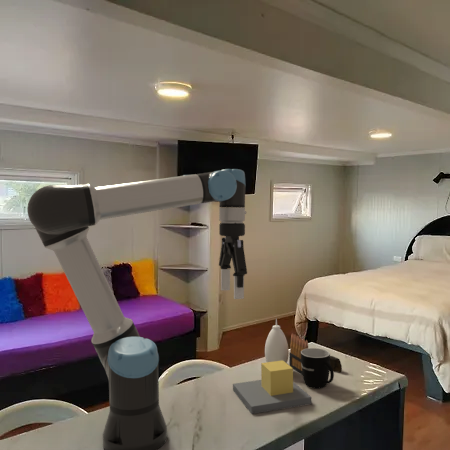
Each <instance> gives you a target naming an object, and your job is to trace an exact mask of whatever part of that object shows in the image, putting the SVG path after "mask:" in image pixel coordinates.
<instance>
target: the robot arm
mask: <svg viewBox="0 0 450 450" xmlns="http://www.w3.org/2000/svg"><path fill="white" fill-rule="evenodd" d="M246 186H247V185H246V174H245V171H244V170H242V169H238V168H225V169H221V170H220V169H219V170H214V171H209V172H203V173H197V174H196V173H195V174H183V175H180V176H171V177H165V178H157V179H149V180H143V181H134V182H126V183H118V184H112V185H111V184H110V185H104V186H96V187H94V186H93V185H91V184H90V183H84V184H72V185H65V184H64V185H63V184H62V185H60V184H50V185H45V186H43V187H41V188H39V189H38V190H36V191H35V192H33V193H32V195H31V196H30V198H29V200H28V203H27V208H26V209H27V215H28V219H29V221H30V223H31V224H32V226H33V227H34V229H35V230H36V232H37V234H38V237H39V238H40V239H39V240H41V242H42V245H43V247H44V248H45V249H48V250H50V251H53V252H54V254H55V257H56V259H57V260H58V262H59V264H60V266H61V268H62V269H61V270H63V273H64V275H65V276H66V279H67V281H68V283H69V284H70V286H71V289H72V291H73V293H74V296H75V297H76V299H77V301H78V303H79V305H80V307H81V309H82V312H83V313H84V315H85V317H86V320H87V321H88V324H89V326H90V327H91V329H92V332H93V333H92V334H93V335H92V337H91V344H92V346H93V347H94V349H95V352H96V354H97V356H98V358H99V361H100V363H101V364H102V366H103V368H104V371H105V374H106V376H107V379H108V390H109V391H108V395H109V396H108V397H109V398H108V399H109V400H108V401H109V412H108V415H107V418H106V422H105V425H104V429H103V433H102V446H103V449H104V450H158V449H159V448H161V447H163V445H164V444H165V443H166V441H167V439H168V427H167V424H166V420H165V418H164V415H163V412H162V410H161V407H160V391H159V390H160V389H159V388H160V387H159V385H160V384H159V382H160V381H159V377H160V376H159V361H160V356H159V352H158V347H157V344H156V343H155V342H154V341H153V340H152V339H149V338H144V337H142V336H140V334H139V332H138V331H139V330H138V329H137V327H136V326H135V323H134V321H133V319H131V318H128V317H125V316H124V313H123V312H122V310H121V307H120V305H119V302H118V301H117V299H116V296H115V295H114V292H113V291H112V290H113V289H111V286H110V284H109V282H108V280H107V277H106V276H105V273H104V271H103V269H102V267H101V264H100V263H99V260H98V259H97V256H96V254H95V252H94V249H93V247H92V246H91V244H90V241H89V239H88V237H87V235H88V233H89V230H90V227H92V226H96V225H98V223H99V222H100V221H101V220H108V219H112V218H121V217H124V216H125V217H126V216H133V215H136V214H137V215H138V214H145V213H151V212H157V211H162V210H168V209H175V208H180V207H181V208H182V207H187V206H194V205H198V204H199V205H200V204H206V203H208V204H209V203H219V207H218V209H219V213H218V214H219V215H218V216H219V219H218V220H219V221H220V224H219V226H218V227H219V229H218V230H219V236H221V247H220V255H219V259H218V260H219V261H218V266H219V267H220V291H231V269H232V266H233V269H234V272H233V273H232V276H233V299H234V300H243V299H245V276H246V275H248V269H247V264H246V263H247V261H246V255H245V249H244V248H245V247H244V240H243V239H240V237H244V236H245V235H246V224H245V223H243V222H245V220H246V215H247V211H246ZM231 261H232V266H231Z"/></svg>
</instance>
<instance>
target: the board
mask: <svg viewBox="0 0 450 450" xmlns="http://www.w3.org/2000/svg"><path fill="white" fill-rule="evenodd" d="M232 391H233V392H234V394H235V395H236V396H237V397H238V399H239V400H240V401H241V403H242V404H243V405H244V406H245V408H246V409H247V411H249V413H250V415H253V414H255V415H256V414H260V413H265V412H272V410H273V411H279V410H284V408H285V409H291V408H297V407H300V406H301V407H302V406H307V405H312V396H311V395H310V394H308V393H307V391H305V390H304V389H303V388H301V387H300V386H299V385H298V384H297V383H296V382H295V381H293V392H292V393H286V394H279V395H273V396H270V394H269V393H268V392H267V391H266V390H265V389H264V388H263V387H262V381H261V379H257V380H250V381H244V382H236V383H232ZM290 407H291V408H290ZM278 409H279V410H278Z"/></svg>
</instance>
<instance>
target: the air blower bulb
mask: <svg viewBox="0 0 450 450" xmlns="http://www.w3.org/2000/svg"><path fill="white" fill-rule="evenodd" d="M264 345H265V346H264V357H265V363H266V362H274V361H282V360H283V361H284V362H285V363H287V364H288V362H289V353H290V352H289V345H288V340H287V337H286V335H285V333H284V332H283V330H282V329H281V325H278V320H277V317H276V318H275V325H272V327H271V330H270V331H269V333H268V335H267V338H266V340H265V344H264Z"/></svg>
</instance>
